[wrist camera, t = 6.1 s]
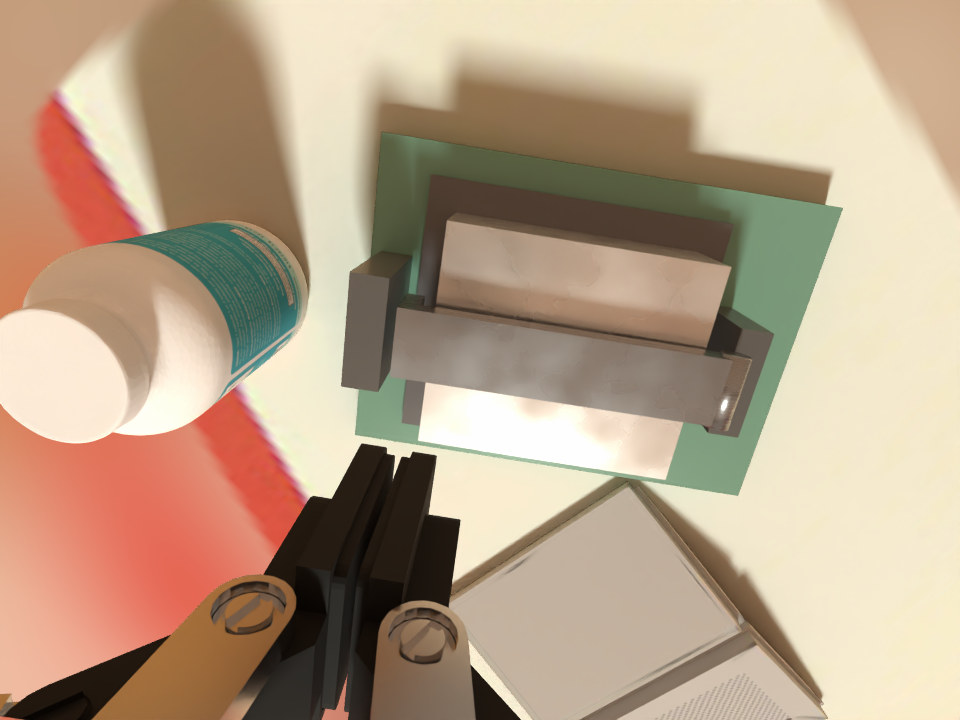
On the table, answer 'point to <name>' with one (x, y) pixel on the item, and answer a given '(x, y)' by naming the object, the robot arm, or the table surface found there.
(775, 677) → the gadget
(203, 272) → the pill bottle
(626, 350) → the strap
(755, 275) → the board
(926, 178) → the table surface
